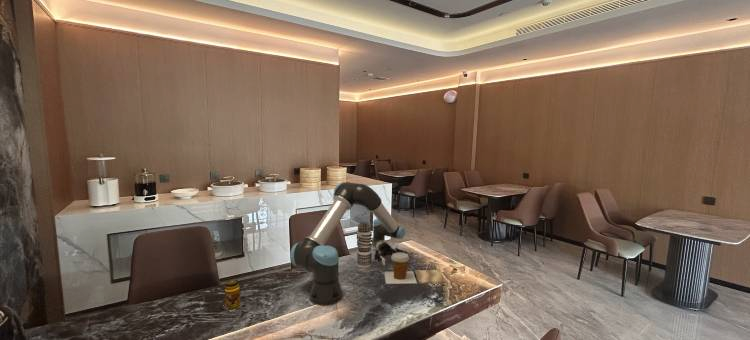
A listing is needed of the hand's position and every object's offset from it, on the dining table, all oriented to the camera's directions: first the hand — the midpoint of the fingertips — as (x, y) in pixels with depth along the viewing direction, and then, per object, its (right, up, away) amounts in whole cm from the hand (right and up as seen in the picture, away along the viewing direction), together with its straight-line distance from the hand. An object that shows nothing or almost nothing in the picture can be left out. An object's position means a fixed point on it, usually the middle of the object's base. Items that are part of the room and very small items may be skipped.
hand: (396, 261), depth 175 cm
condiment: (-75, -11, -35) cm, 84 cm away
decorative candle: (-18, -5, +11) cm, 22 cm away
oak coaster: (+18, -7, -6) cm, 20 cm away
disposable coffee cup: (+2, -7, -6) cm, 9 cm away
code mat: (+2, -7, -6) cm, 10 cm away
